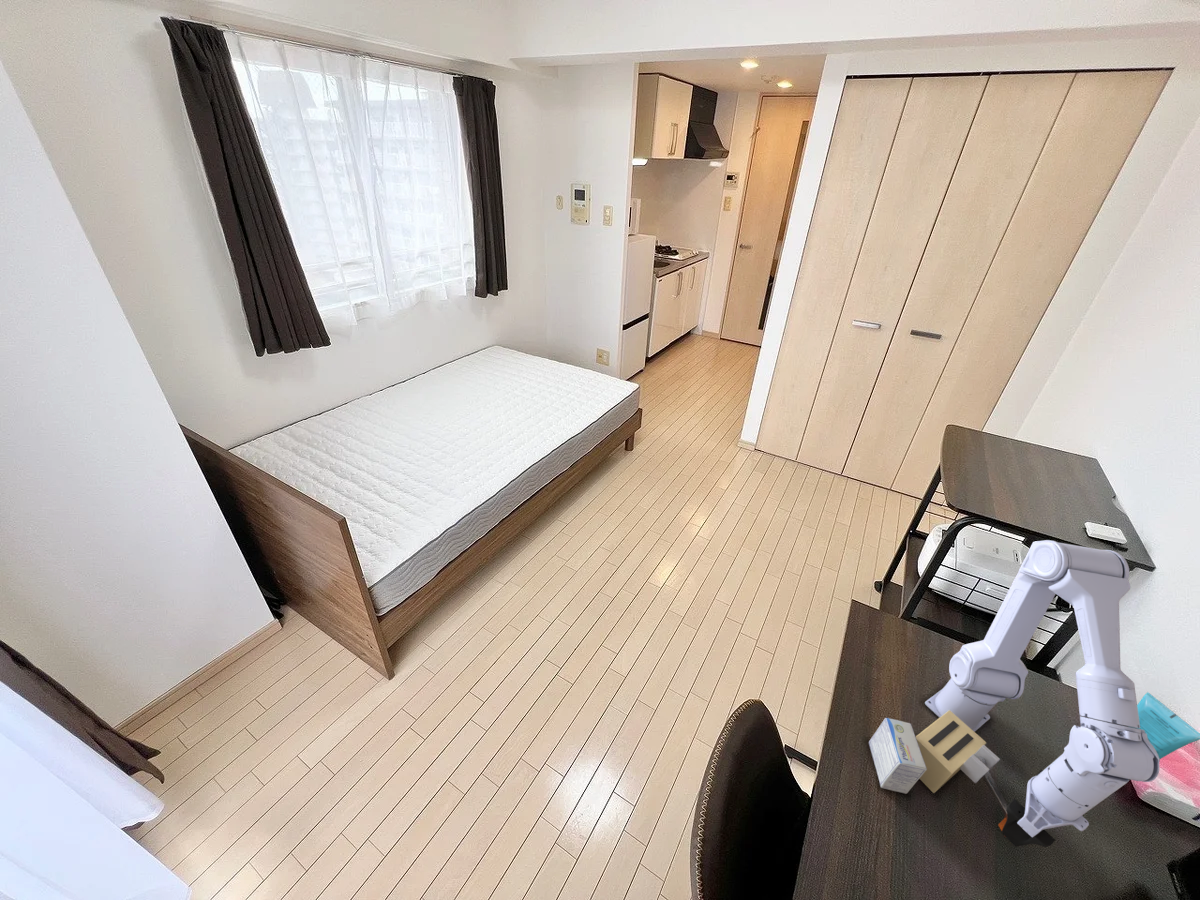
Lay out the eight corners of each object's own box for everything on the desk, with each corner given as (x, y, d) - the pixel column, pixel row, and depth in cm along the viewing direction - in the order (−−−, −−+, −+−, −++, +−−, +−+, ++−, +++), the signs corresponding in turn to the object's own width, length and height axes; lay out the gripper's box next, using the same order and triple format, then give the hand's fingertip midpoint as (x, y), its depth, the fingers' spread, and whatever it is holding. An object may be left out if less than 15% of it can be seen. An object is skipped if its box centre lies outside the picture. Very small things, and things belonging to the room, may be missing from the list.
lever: (979, 752, 82) (989, 753, 81) (1018, 821, 79) (1030, 824, 77) (964, 766, 80) (975, 767, 79) (1004, 837, 77) (1016, 839, 75)
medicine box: (906, 795, 82) (928, 770, 78) (879, 788, 83) (899, 763, 78) (892, 747, 89) (912, 722, 84) (867, 741, 89) (885, 716, 85)
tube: (1132, 788, 86) (1212, 731, 76) (1116, 798, 84) (1196, 741, 74) (1085, 747, 92) (1154, 688, 82) (1069, 755, 90) (1137, 697, 80)
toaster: (932, 730, 92) (955, 702, 87) (982, 776, 86) (1010, 749, 81) (898, 757, 87) (920, 729, 82) (948, 809, 81) (976, 782, 76)
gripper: (1084, 842, 63) (1027, 880, 70) (1127, 786, 69) (1071, 826, 77) (1024, 788, 68) (977, 829, 75) (1069, 741, 75) (1022, 782, 82)
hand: (1021, 824), depth 76 cm, fingers open, 7 cm apart
